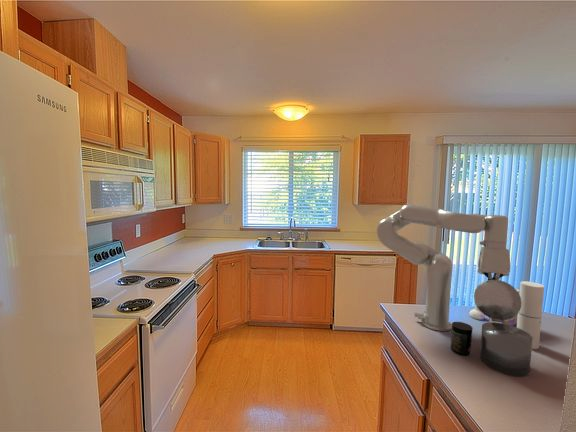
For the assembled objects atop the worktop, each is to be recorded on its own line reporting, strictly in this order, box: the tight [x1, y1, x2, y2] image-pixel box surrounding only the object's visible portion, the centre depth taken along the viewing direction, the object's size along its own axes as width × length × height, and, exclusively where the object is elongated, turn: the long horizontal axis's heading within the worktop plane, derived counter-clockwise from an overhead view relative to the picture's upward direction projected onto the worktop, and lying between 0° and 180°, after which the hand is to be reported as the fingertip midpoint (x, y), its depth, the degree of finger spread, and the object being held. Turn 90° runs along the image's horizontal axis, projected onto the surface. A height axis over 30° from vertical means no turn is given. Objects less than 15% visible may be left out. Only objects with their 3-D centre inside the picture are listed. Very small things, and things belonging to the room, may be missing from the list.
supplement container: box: [450, 321, 473, 357], centre depth 105 cm, size 7×7×10 cm
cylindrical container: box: [516, 280, 545, 350], centre depth 110 cm, size 7×7×25 cm
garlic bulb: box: [469, 305, 486, 321], centre depth 134 cm, size 6×6×8 cm
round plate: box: [473, 279, 522, 323], centre depth 107 cm, size 16×15×3 cm
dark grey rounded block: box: [479, 321, 533, 378], centre depth 98 cm, size 14×14×12 cm
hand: (491, 288), depth 115 cm, fingers closed
